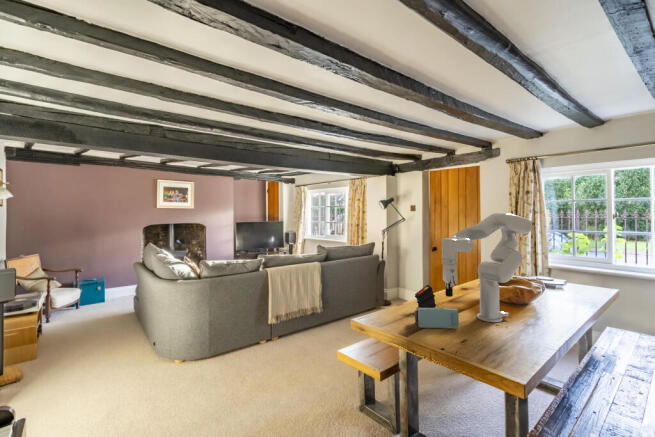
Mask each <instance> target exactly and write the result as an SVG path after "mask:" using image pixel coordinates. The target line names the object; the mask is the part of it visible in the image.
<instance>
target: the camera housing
mask: <svg viewBox="0 0 655 437" xmlns="http://www.w3.org/2000/svg"><path fill="white" fill-rule="evenodd" d="M415 308H416V310H414V312H413V313H414V317H413V318H414V321H415V323H417V325H418V309H444V307H435V308H417V307H415Z"/></svg>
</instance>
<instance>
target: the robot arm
mask: <svg viewBox="0 0 655 437" xmlns="http://www.w3.org/2000/svg"><path fill="white" fill-rule="evenodd" d="M498 230H500V231H501V239H500V240H499V242H498V244H496V246H495V247H494V249H492V251H491V253H490V259H491V261H488V260H487V261H486V260H485V261H482V262H480V263H479V264H478V266H477V274H478V279H479V313H477V314H476V318H477V319H479V320H481V321H484V322H488V323H500V322H502V321H503V317H509V316H510V313H509V312H504V311H500V285H499V283H502V284H503V283H507V282H508V281H510V280H512V278H513V276H514V275H515V274H516V272H517V270H518V269H519V268H520V266H521V265H522V262H523V254H522V252H521V251H520V250H518V249H517V247H518V244H519V242H518V238H517V236H516V234H518V235H519V234H521V235H526V234H529V233H530V232H531V231H532V230H533V223H532V221H531V220H530V219H529V218H526V217H523V216H519V215H517V214H513V213H507V212H495V213H491V214H490V215H488V216H487V217H485V218H484V219H483V220H481V221H480V222H478V223H477V224H475V225H471V226H469V227H466V228H463V229H460V230H459V231H457V232H456V233H454V234H453V235H451V236H450V237H444V238H442V239H441V265H442V280H443V281H444V283H445V297H453V294H454V292H453V291H454V286H455V285H458V270H457V265H458V252H460V253H461V252H462V253H469V252H471V251H472V250H473V249H474V241H478V240H482V239H486V238H488V237H490V236H491V235H492V234H494V233H496V232H497V231H498ZM454 284H455V285H454Z"/></svg>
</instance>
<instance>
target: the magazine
mask: <svg viewBox="0 0 655 437" xmlns="http://www.w3.org/2000/svg"><path fill="white" fill-rule="evenodd" d="M433 289H434V288H433V287H431V285H428V284H426V285H425V286H424V287H422V288H421V289H420V290H419V291H417V292H416V293H415V294H414V298H416V303H417V307H416V308H436V307H437V303H436V299H435V297H436V295H435V294H434V290H433Z"/></svg>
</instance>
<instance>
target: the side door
mask: <svg viewBox="0 0 655 437" xmlns="http://www.w3.org/2000/svg"><path fill="white" fill-rule="evenodd" d="M458 310H459V309H458V308H443V309H418V324H417V326H418V328H421V329H422V328H430V329H431V328H432V329H433V328H434V329H437V328H438V329H439V328H441V329H459V317H460V316H459V311H458Z"/></svg>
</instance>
